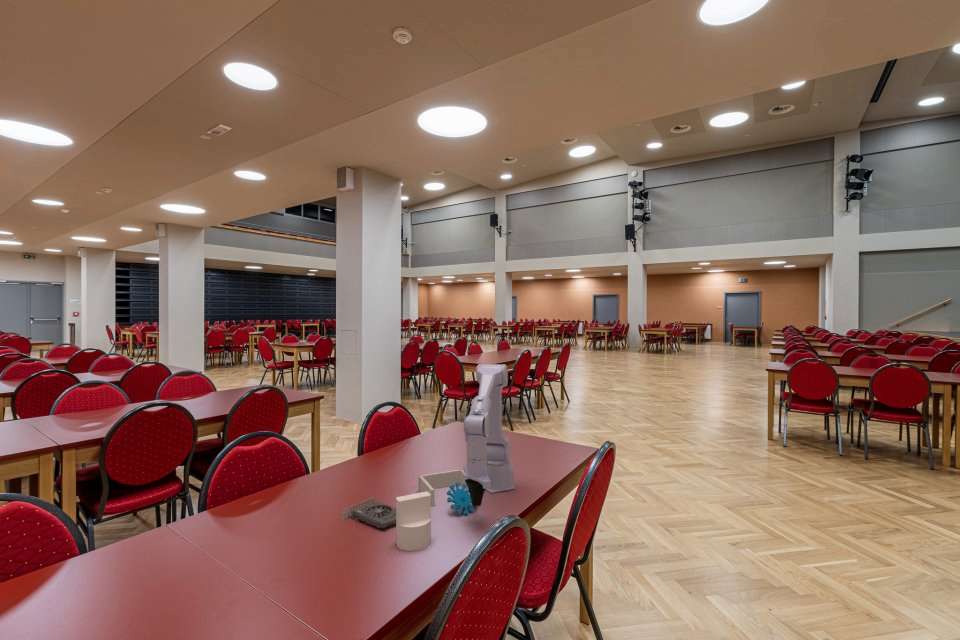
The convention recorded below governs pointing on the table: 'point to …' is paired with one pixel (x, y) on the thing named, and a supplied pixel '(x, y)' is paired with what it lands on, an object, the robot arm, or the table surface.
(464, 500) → the blue virus model
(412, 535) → the cylinder with rectangular tab
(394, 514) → the graphics card
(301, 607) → the table surface
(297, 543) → the table surface
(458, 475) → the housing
